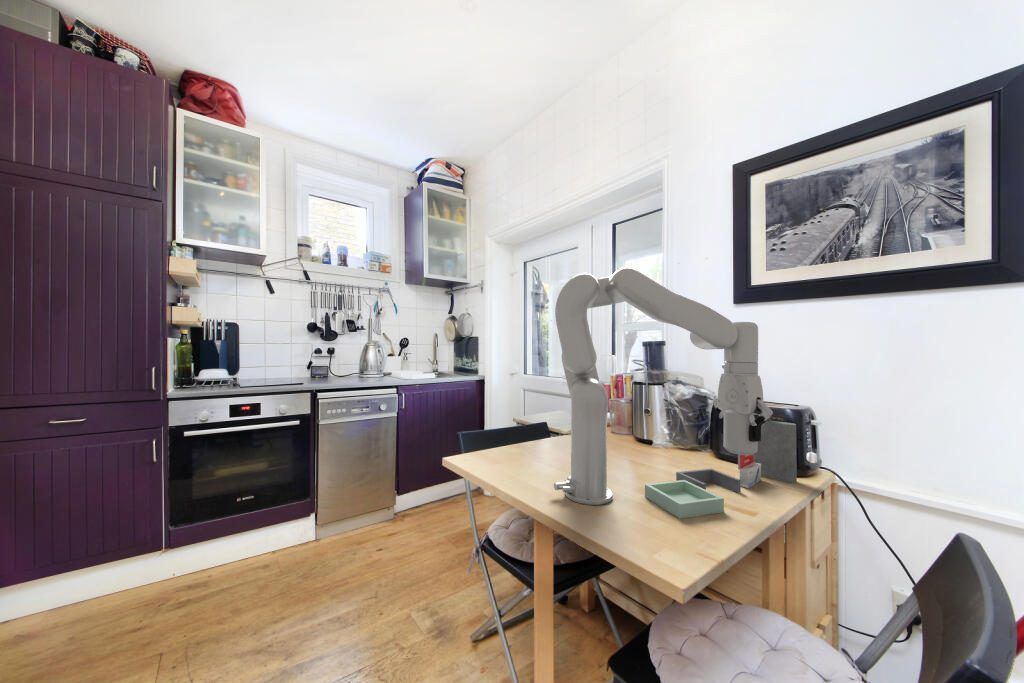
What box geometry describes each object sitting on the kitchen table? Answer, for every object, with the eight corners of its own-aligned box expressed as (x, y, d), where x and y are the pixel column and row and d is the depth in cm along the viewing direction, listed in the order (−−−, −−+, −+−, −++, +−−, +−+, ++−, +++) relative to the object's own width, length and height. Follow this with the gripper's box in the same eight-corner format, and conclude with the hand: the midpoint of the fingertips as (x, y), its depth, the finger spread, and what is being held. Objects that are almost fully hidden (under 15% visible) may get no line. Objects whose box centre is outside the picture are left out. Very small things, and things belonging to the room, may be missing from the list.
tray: (680, 518, 84) (680, 504, 84) (644, 496, 97) (644, 484, 97) (723, 511, 88) (723, 498, 88) (684, 491, 100) (684, 479, 100)
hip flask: (798, 481, 109) (797, 415, 110) (793, 484, 107) (793, 417, 107) (740, 467, 122) (740, 408, 123) (735, 469, 120) (735, 409, 120)
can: (764, 456, 89) (764, 408, 89) (734, 455, 89) (734, 407, 89) (745, 448, 96) (745, 403, 97) (717, 447, 97) (717, 403, 97)
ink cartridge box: (761, 480, 110) (761, 448, 110) (748, 489, 103) (748, 454, 103) (752, 478, 112) (752, 446, 112) (738, 486, 105) (738, 453, 105)
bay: (703, 497, 96) (702, 484, 96) (676, 483, 106) (676, 472, 106) (740, 492, 100) (740, 479, 100) (711, 479, 110) (711, 468, 110)
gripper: (702, 367, 101) (702, 430, 100) (761, 371, 84) (760, 447, 84) (723, 367, 103) (723, 429, 102) (785, 371, 86) (784, 445, 86)
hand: (740, 436), depth 93 cm, fingers closed on can, 7 cm apart
